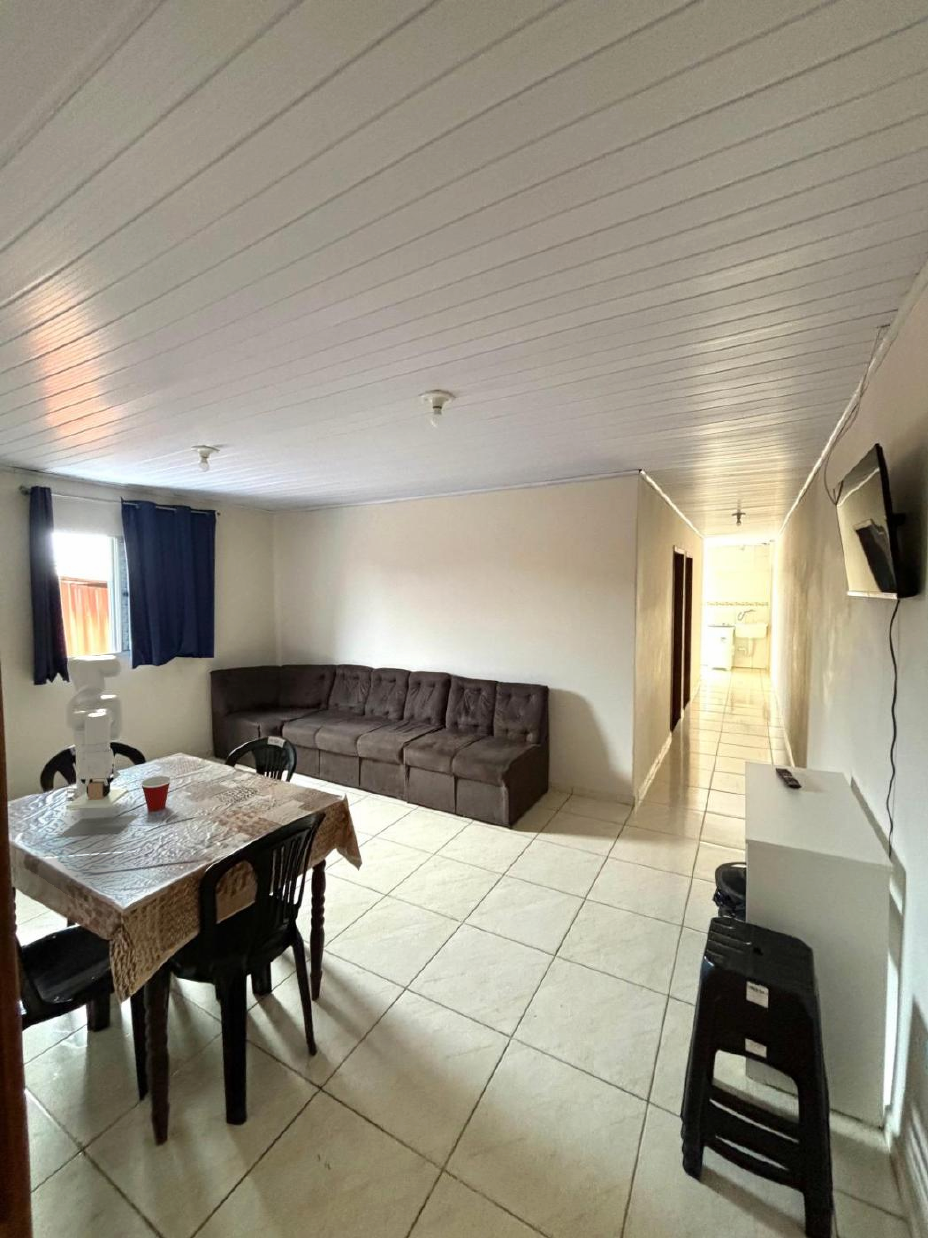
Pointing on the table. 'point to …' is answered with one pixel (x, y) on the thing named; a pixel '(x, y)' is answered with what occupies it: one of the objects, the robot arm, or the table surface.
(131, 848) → the table surface
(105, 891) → the table surface
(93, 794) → the lid
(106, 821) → the mat
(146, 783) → the plastic cup
